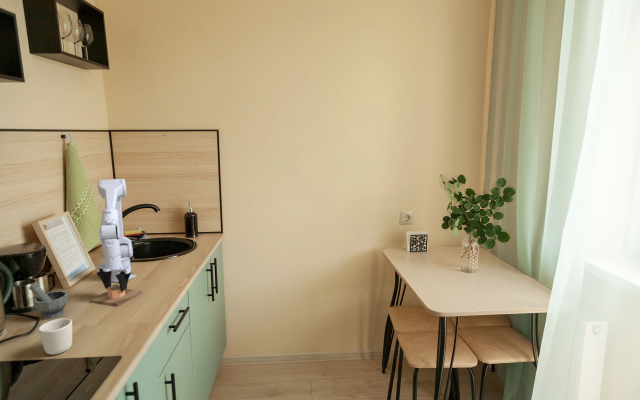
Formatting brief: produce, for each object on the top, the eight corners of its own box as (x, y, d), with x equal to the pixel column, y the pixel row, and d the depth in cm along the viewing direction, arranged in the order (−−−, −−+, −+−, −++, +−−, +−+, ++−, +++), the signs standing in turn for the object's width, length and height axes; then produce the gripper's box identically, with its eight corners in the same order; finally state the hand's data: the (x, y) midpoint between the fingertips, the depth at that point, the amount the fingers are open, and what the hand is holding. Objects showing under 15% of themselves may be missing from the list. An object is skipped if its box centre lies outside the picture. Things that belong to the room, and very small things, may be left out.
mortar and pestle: (75, 307, 136) (71, 276, 134) (61, 320, 127) (56, 287, 125) (42, 310, 135) (37, 278, 133) (25, 322, 125) (20, 289, 123)
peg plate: (90, 302, 141) (88, 289, 140) (116, 289, 152) (115, 277, 151) (117, 306, 137) (116, 293, 136) (142, 293, 148) (140, 281, 147)
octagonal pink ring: (104, 297, 142) (103, 289, 142) (116, 291, 148) (116, 284, 147) (116, 299, 141) (115, 291, 140) (128, 292, 146) (127, 285, 146)
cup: (58, 338, 116) (55, 314, 114) (85, 336, 116) (82, 312, 115) (35, 358, 105) (31, 332, 104) (65, 356, 106) (61, 330, 104)
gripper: (88, 256, 140) (92, 290, 142) (118, 260, 136) (122, 295, 138) (104, 251, 147) (107, 283, 149) (133, 254, 142) (137, 288, 145)
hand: (115, 289), depth 144 cm, fingers open, 7 cm apart
